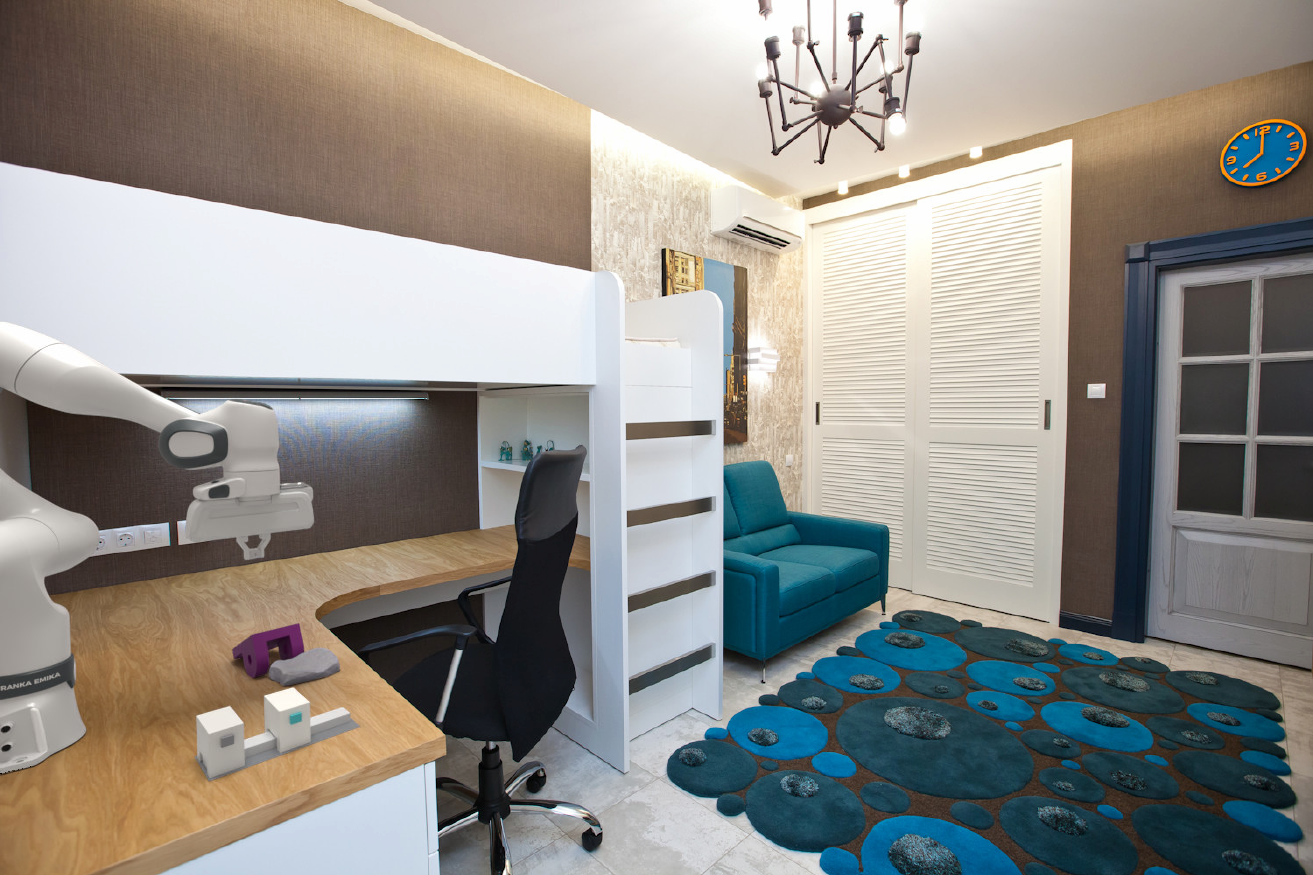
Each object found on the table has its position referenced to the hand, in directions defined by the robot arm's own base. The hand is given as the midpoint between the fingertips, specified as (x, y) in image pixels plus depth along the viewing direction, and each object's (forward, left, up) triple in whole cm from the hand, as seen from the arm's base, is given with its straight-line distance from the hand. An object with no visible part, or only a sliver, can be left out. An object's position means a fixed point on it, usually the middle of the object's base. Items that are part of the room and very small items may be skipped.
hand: (254, 558), depth 115 cm
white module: (0, -18, -28) cm, 33 cm away
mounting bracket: (+8, +25, -30) cm, 39 cm away
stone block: (+12, +11, -30) cm, 34 cm away
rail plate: (-1, -18, -29) cm, 34 cm away
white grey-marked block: (-10, -18, -28) cm, 35 cm away
